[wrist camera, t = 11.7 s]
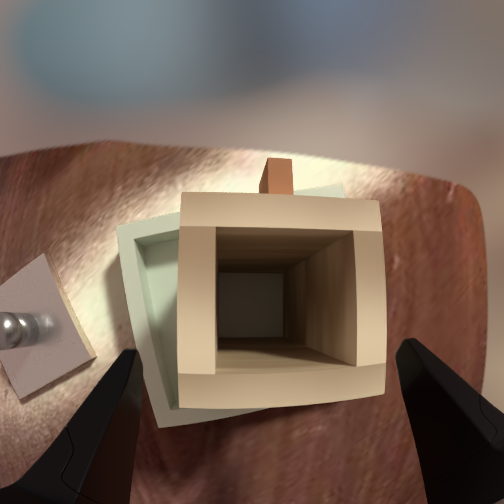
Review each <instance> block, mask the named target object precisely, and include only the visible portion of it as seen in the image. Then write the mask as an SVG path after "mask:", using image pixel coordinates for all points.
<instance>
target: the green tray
mask: <svg viewBox="0 0 504 504" xmlns="http://www.w3.org/2000/svg"><path fill="white" fill-rule="evenodd" d="M293 194H294V195H305V196H322V197H337V198H346V195H345V192H344V189H343V186H342V184H338V185H331V186H324V187H317V188H311V189H304V190H298V191H293ZM179 227H180V212H177V213H172V214H167V215H163V216H158V217H153V218H149V219H144V220H140V221H135V222H131V223H127V224H122V225H118V226H116V231H117V239H118V247H119V255H120V262H121V269H122V276H123V282H124V288H125V294H126V299H127V305H128V310H129V315H130V320H131V325H132V330H133V335H134V339H135V344H136V348H137V350H138V351H139V354H140V357H141V360H142V363H143V376H144V380H145V384H146V388H147V391H148V395H149V398H150V402H151V405H152V408H153V412H154V415H155V418H156V421H157V425H158V428H164V427H172V426H179V425H186V424H193V423H199V422H205V421H211V420H216V419H222V418H227V417H232V416H237V415H241V414H246V413H250V412H255V411H259V410H263V409H267V408H242V409H206V408H179V391H178V361H177V281H178V249H179ZM218 337H283V273H219V291H218ZM270 408H271V407H270Z"/></svg>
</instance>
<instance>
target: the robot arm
mask: <svg viewBox="0 0 504 504" xmlns="http://www.w3.org/2000/svg"><path fill="white" fill-rule="evenodd" d="M395 359H396V364H397V370H398V375H399V380H400V385H401V391H402V395H403V399H404V403H405V406H406V410H407V413H408V417H409V421H410V425H411V428H412V432H413V436H414V440H415V444H416V449H417V453H418V457H419V462H420V466H421V471H422V476H423V480H424V484H425V485H424V486H425V491H426V497H427V502H428V504H504V414H503V413H502V412H501V411H500V410H498V409H497V408H496V407H494V406H493V405H492V404H491V403H490V402H489V401H487V400H486V399H485V398H484V397H483V396H482V395H481V394H479V393H478V392H477V391H476V390H475V389H474V388H473V387H472V386H470V385H469V384H468V383H467V382H466V381H465V380H464V379H462V378H461V377H460V376H459V375H458V374H457V373H456V372H454V371H453V370H452V369H451V368H450V367H449V366H447V365H446V364H445V363H444V362H443V361H442V360H440V359H439V358H438V357H437V356H436V355H435V354H433V353H432V352H431V351H430V350H429V349H427V348H426V347H425V346H424V345H423V344H422V343H420V342H419V341H418V340H417V339H415V338H407V339H404V340H403V342H402V343H401V345H400V347H399V348H398V350H397V352H396V355H395ZM142 383H143V363H142V360H141V357H140V354H139V351H138V350H137V349H130V348H126V349H124V350H123V352H122V353H121V354H120V355H119V357H118V358H117V359H116V360H115V362H114V363H113V364H112V366H111V367H110V368H109V369H108V371H107V372H106V373H105V375H104V376H103V377H102V378H101V380H100V381H99V382H98V384H97V385H96V386H95V387H94V389H93V390H92V391H91V393H90V394H89V395H88V397H87V398H86V399H85V401H84V402H83V403H82V405H81V406H80V407H79V409H78V410H77V411H76V413H75V414H74V415H73V417H72V418H71V419H70V421H69V422H68V423H67V427H66V426H65V427H64V429H63V430H62V431H61V433H60V434H59V435H58V437H57V438H56V439H55V441H54V442H53V443H52V444H51V446H50V447H49V448H48V449H47V450H46V451H45V452H44V454H43V455H42V456H41V457H40V458H39V459H38V460H37V461H36V462H35V463H34V464H33V465H32V467H31V468H30V469H29V470H28V471H27V472H26V473H25V474H24V475H23V476H22V477H21V478H20V479H19V480H18V481H16V482H15V483H13V484H11V485H9V486H7V487H4V488H1V489H0V504H129V503H130V492H131V483H132V474H133V465H134V457H135V450H136V443H137V436H138V429H139V422H140V416H141V404H142Z"/></svg>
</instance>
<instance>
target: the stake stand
mask: <svg viewBox="0 0 504 504" xmlns="http://www.w3.org/2000/svg"><path fill="white" fill-rule="evenodd" d="M95 357H97V355H96V353H95V351H94V349H93V348H92V346H91V344H90V342H89V340H88V338H87V336H86V334H85V332H84V330H83V328H82V326H81V324H80V322H79V320H78V318H77V316H76V314H75V312H74V310H73V308H72V306H71V303H70V301H69V299H68V297H67V295H66V292H65V290H64V288H63V285H62V283H61V281H60V278H59V276H58V273H57V271H56V268H55V266H54V263H53V261H52V258H51V255H49V254H46V253H43V254H41V255H40V256H39V257H37V258H36V259H35V260H33V261H32V262H31V263H29V264H28V265H27V266H25V267H24V268H23V269H21V270H20V271H19V272H17V273H16V274H15V275H14V276H12V277H11V278H10V279H9V280H7V281H6V282H5V283H4V284H2V285H1V286H0V360H1V362H2V365H3V367H4V369H5V371H6V373H7V376H8V378H9V380H10V382H11V384H12V386H13V388H14V390H15V392H16V394H17V395H18V397H19V399H21V398H24V397H26V396H28V395H30V394H32V393H33V392H35V391H37V390H39V389H41V388H42V387H44V386H46V385H48V384H49V383H51V382H53V381H55V380H56V379H58V378H60V377H62V376H63V375H65V374H67V373H69V372H70V371H72V370H74V369H76V368H77V367H79V366H81V365H83V364H84V363H86V362H88V361H90V360H91V359H93V358H95Z"/></svg>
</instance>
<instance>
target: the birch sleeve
mask: <svg viewBox="0 0 504 504" xmlns="http://www.w3.org/2000/svg"><path fill="white" fill-rule="evenodd" d="M219 273H283V337H218V291H219ZM386 334H387V322H386V283H385V264H384V250H383V238H382V227H381V217H380V209H379V201H375V200H363V199H350V198H337V197H322V196H305V195H294V194H293V174H292V159H283V158H267V162H266V165H265V168H264V171H263V174H262V177H261V181H260V184H259V193H223V192H182V195H181V210H180V227H179V249H178V281H177V361H178V391H179V408H206V409H242V408H270V407H286V406H299V405H310V404H319V403H328V402H336V401H343V400H350V399H357V398H363V397H369V396H375V395H381V394H384V390H385V373H386Z"/></svg>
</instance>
